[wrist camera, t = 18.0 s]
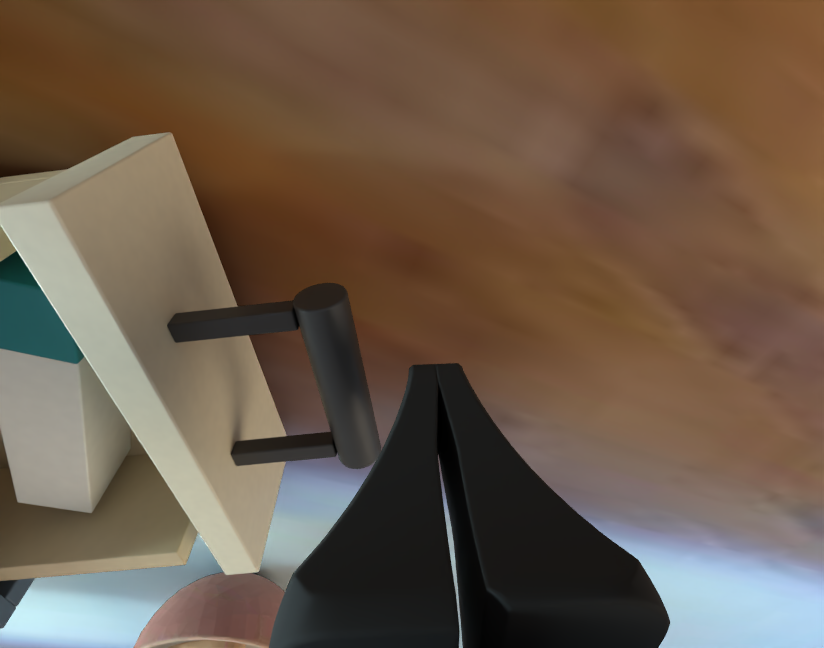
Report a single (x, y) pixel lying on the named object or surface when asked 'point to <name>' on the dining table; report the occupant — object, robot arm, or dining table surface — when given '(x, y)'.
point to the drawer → (169, 370)
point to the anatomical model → (216, 614)
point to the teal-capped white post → (52, 403)
